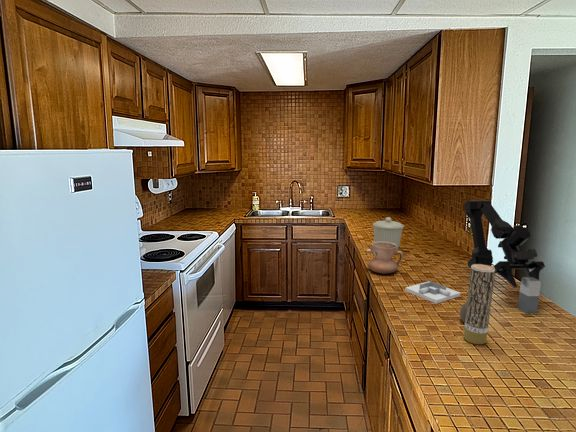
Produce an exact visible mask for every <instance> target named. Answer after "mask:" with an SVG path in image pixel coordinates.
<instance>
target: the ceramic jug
mask: <svg viewBox="0 0 576 432" xmlns="http://www.w3.org/2000/svg"><path fill="white" fill-rule="evenodd" d="M396 248H397V245H396V244H394V243H390V242H374V241H373V242H372V243H371V248H367V249H366V252H367V253H371V254H373V256H374V258H372V259H371V260H369V261H368V262H367V264H366V265H367V267H368V268H369V270H371V271H372V272H374V273H378V274H383V275H384V274H387V275H388V274H392V273H395V272H396V271H398V269H399V266H400V264H401V262H402V260H403V258H404V253H403V252H402V251H401V250H398V251H396ZM397 254H399V259H398V260H397V262H396V261H395V260H393V257H394V256H395V255H397Z"/></svg>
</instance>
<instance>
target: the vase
mask: <svg viewBox="0 0 576 432" xmlns="http://www.w3.org/2000/svg"><path fill="white" fill-rule="evenodd" d="M466 309H467V301H465V302H464V303H463V304H462V305H461V307H460V309H459V318H460V320H461V321H462V323H464V324H465V319H466Z"/></svg>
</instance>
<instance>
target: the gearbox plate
mask: <svg viewBox="0 0 576 432" xmlns="http://www.w3.org/2000/svg"><path fill="white" fill-rule="evenodd" d="M404 291H405V292H407V293H409V294H412V295H414V296H417V297H419V298H421V299H424V300H426V301H428V302H431V303H433V304H436V305H437V304H439V303H443V302H445V301H449V300H452V299H455V298H456V299H457V298H459V297H461V293H462V292H461V291H460V292H459V291H457V290H454V289H452V288H449V287H447V286H444V285H442V284H439V283H436V282H433V281H430V280H428V281H425V282H421V283H418V284H413V285H410V286H407V287H405V288H404Z"/></svg>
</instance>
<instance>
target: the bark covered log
mask: <svg viewBox="0 0 576 432" xmlns="http://www.w3.org/2000/svg"><path fill="white" fill-rule="evenodd" d="M495 274H496V273H495V268H494V266H492V265H491V266H488V265H483V264H473V265H471V268H470V273H469V275H470V276H469V279H470V280H469V283H468V293H467V301H466V302H467V309H466V319H465V323H464V330H463V338H464V340H466V342H469V343H470V344H474V345H484V344H486V343H487V339H488V331H489V324H490V317H491V306H492V298H493V289H494V281H495Z"/></svg>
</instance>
